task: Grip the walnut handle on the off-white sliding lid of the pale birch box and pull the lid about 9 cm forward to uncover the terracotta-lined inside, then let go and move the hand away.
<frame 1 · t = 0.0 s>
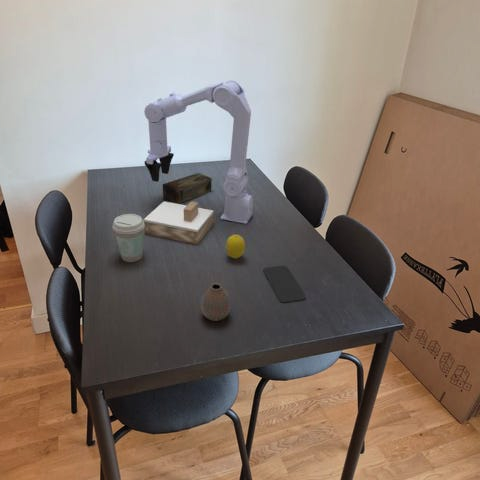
hand: (160, 177, 138), 10 cm above the table, tool pointing down, fingers open, 7 cm apart
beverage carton: (187, 196, 150), on the table
phone: (283, 285, 105), on the table
vase: (215, 316, 93), on the table
lid: (179, 210, 124), point 7 cm above the table, slide at 0.0 cm
box: (180, 228, 127), on the table
coffee cup: (132, 257, 112), on the table
lemon: (234, 258, 114), on the table
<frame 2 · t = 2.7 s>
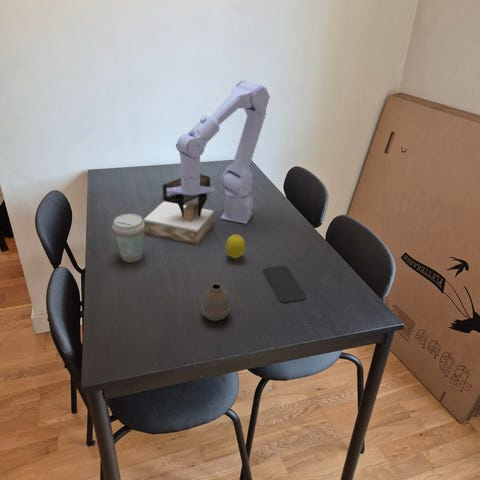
hand: (191, 215, 123), 6 cm above the table, tool pointing down, fingers closed on lid, 4 cm apart
lid: (179, 210, 124), point 7 cm above the table, slide at 0.0 cm, touching gripper
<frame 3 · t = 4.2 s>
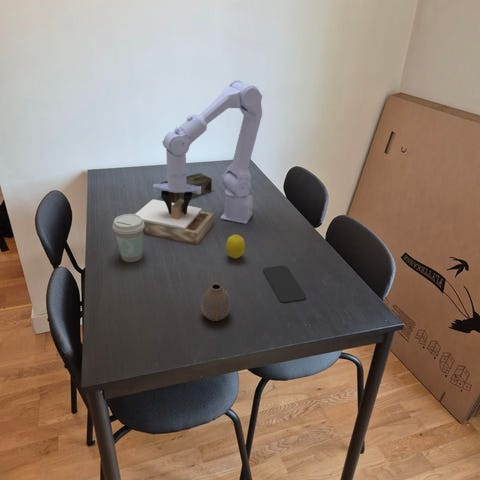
hand: (178, 212, 124), 6 cm above the table, tool pointing down, fingers open, 4 cm apart
lid: (167, 208, 125), point 7 cm above the table, slide at 4.2 cm, touching gripper
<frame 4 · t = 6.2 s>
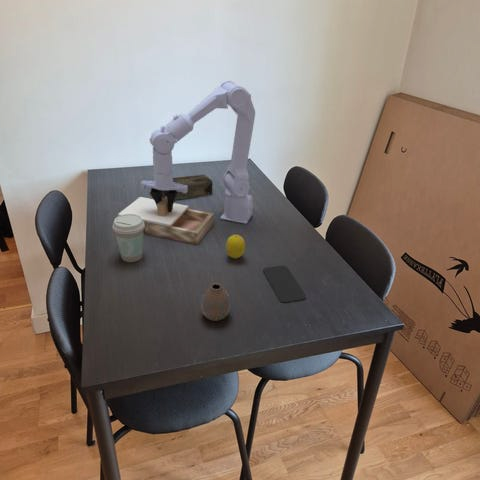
hand: (165, 210, 126), 6 cm above the table, tool pointing down, fingers closed on lid, 3 cm apart
lid: (153, 205, 126), point 7 cm above the table, slide at 9.0 cm, touching gripper
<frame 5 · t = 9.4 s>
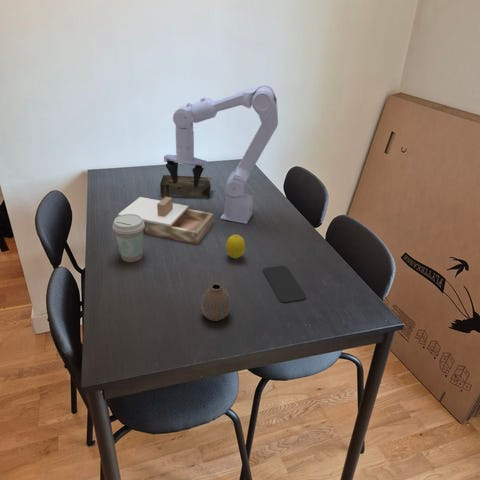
hand: (185, 184, 133), 10 cm above the table, tool pointing down, fingers open, 7 cm apart
lid: (153, 205, 126), point 7 cm above the table, slide at 9.0 cm
at the end: lid slide at 9.0 cm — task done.
